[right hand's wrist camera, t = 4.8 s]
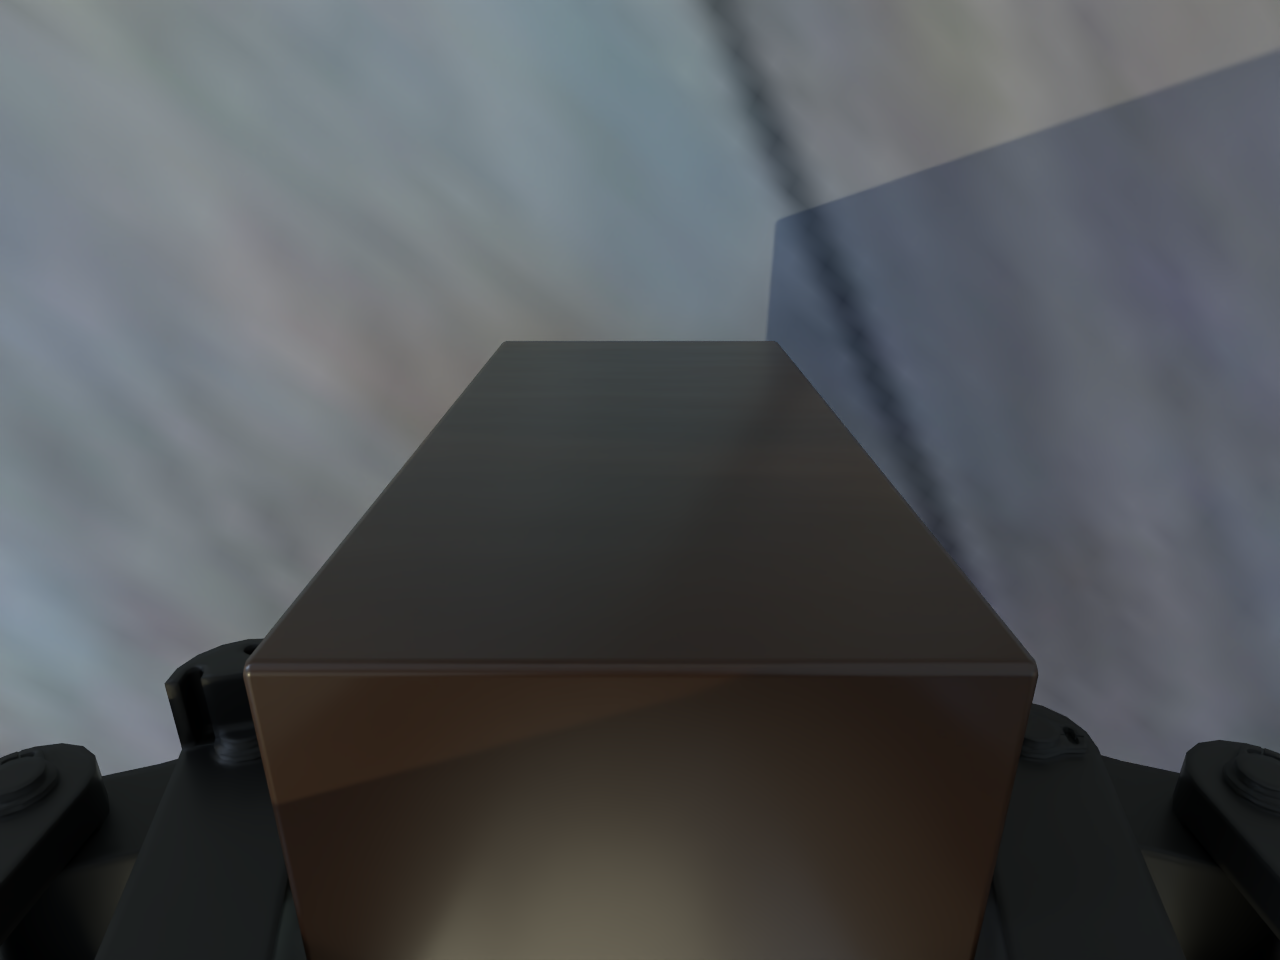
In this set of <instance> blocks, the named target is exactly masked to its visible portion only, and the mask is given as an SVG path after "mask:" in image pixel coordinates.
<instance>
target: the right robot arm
mask: <svg viewBox="0 0 1280 960" xmlns="http://www.w3.org/2000/svg"><path fill="white" fill-rule="evenodd" d="M262 640H263V639H247V640H243V641H238V642H234V643H229V644H225V645H221V646H219V647H216V648H214V649H211V650H209V651H206V652H204V653H202V654H199V655H197V656H196V657H194V658H192V659H191V660H189V661H188V662H186V663H185V664H183V665H182V666H180V667H179V668H177V669H176V671H175V672H174V673H173V674H172V675H171V677H170V678H169V679H168V680H167V681H166V683H165V687H166V691H167V695H168V698H169V702H170V706H171V709H172V713H173V717H174V720H175V724H176V728H177V732H178V735H179V739H180V743H181V746H182V751H181V753H180V756H179V758H178V759H176V760H172V761H169V762H165V763H162V764H157V765H153V766H148V767H143V768H138V769H134V770H129V771H124V772H120V773H115V774H110V775H106V776H101V773H100V769H99V766H98V763H97V760H96V757H95V755H94V754H92V753H91V752H90V751H89V750H87V749H86V748H85V747H83V746H78V745H71V744H64V743H60V744H53V745H45V746H37V747H33V748H29V749H25V750H21V751H20V752H15V753H12V754H9V755H6V756H4V757H2V758H0V960H307V958H306V954H305V949H304V945H303V941H302V936H301V932H300V927H299V923H298V918H297V914H296V909H295V905H294V900H293V896H292V892H291V887H290V883H289V878H288V874H287V869H286V865H285V860H284V856H283V851H282V847H281V843H280V838H279V834H278V829H277V825H276V820H275V816H274V811H273V807H272V802H271V798H270V794H269V789H268V785H267V780H266V776H265V771H264V767H263V762H262V758H261V754H260V749H259V745H258V740H257V736H256V731H255V727H254V722H253V718H252V713H251V709H250V705H249V700H248V696H247V691H246V687H245V682H244V678H243V670H244V666H245V662H246V660H247V659H248V658H249V656H250V655H251V654H252V653H253V651H254V650H255V649H256V648H257V647H258V645H259V644H260V643H261V642H262ZM974 960H1280V754H1279V753H1277V752H1274V751H1271V750H1268V749H1263V748H1261V747H1258V746H1254V745H1250V744H1247V743H1239V742H1231V741H1223V740H1216V741H1209V742H1202V743H1198V744H1197V745H1195V746H1194V747H1193V748H1192V749H1190V750H1189V751H1188V752H1187V753H1186V756H1185V759H1184V762H1183V765H1182V768H1181V772H1180V773H1176V772H1172V771H1167V770H1162V769H1157V768H1153V767H1148V766H1143V765H1139V764H1134V763H1129V762H1124V761H1120V760H1117V759H1113V758H1109V757H1106V756H1102V755H1101V754H1100V752H1099V750H1098V748H1097V746H1096V745H1095V743H1094V742H1093V741H1092V739H1091V738H1090V736H1089V735H1088V734H1087V732H1086V731H1084V730H1083V729H1082V728H1081V727H1079V726H1078V725H1077V724H1075V723H1074V722H1073V721H1071V720H1070V719H1069V718H1067V717H1065V716H1063V715H1061V714H1059V713H1057V712H1055V711H1053V710H1050V709H1048V708H1046V707H1044V706H1041V705H1037V704H1033V703H1032V705H1031V710H1030V714H1029V719H1028V723H1027V727H1026V732H1025V736H1024V741H1023V745H1022V750H1021V754H1020V758H1019V763H1018V767H1017V772H1016V776H1015V781H1014V785H1013V790H1012V794H1011V798H1010V803H1009V807H1008V812H1007V816H1006V821H1005V825H1004V829H1003V834H1002V838H1001V843H1000V847H999V852H998V856H997V861H996V865H995V869H994V874H993V878H992V883H991V887H990V892H989V896H988V901H987V905H986V909H985V914H984V918H983V923H982V927H981V932H980V936H979V940H978V945H977V949H976V954H975V958H974Z"/></svg>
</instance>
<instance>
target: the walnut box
mask: <svg viewBox="0 0 1280 960" xmlns="http://www.w3.org/2000/svg"><path fill="white" fill-rule="evenodd" d="M243 678H244V682H245V687H246V691H247V696H248V700H249V705H250V709H251V713H252V718H253V722H254V727H255V731H256V736H257V740H258V745H259V749H260V754H261V758H262V762H263V767H264V771H265V776H266V780H267V785H268V789H269V794H270V798H271V802H272V807H273V811H274V816H275V820H276V825H277V829H278V834H279V838H280V843H281V847H282V851H283V856H284V860H285V865H286V869H287V874H288V878H289V883H290V887H291V892H292V896H293V900H294V905H295V909H296V914H297V918H298V923H299V927H300V932H301V936H302V941H303V945H304V949H305V954H306V958H307V960H974V958H975V954H976V949H977V945H978V940H979V936H980V932H981V927H982V923H983V918H984V914H985V909H986V905H987V901H988V896H989V892H990V887H991V883H992V878H993V874H994V869H995V865H996V861H997V856H998V852H999V847H1000V843H1001V838H1002V834H1003V829H1004V825H1005V821H1006V816H1007V812H1008V807H1009V803H1010V798H1011V794H1012V790H1013V785H1014V781H1015V776H1016V772H1017V767H1018V763H1019V758H1020V754H1021V750H1022V745H1023V741H1024V736H1025V732H1026V727H1027V723H1028V719H1029V714H1030V710H1031V705H1032V701H1033V696H1034V692H1035V687H1036V683H1037V679H1038V669H1037V665H1036V662H1035V660H1034V659H1033V658H1032V656H1031V655H1030V654H1029V653H1028V651H1027V650H1026V649H1025V648H1024V646H1023V645H1022V644H1021V643H1020V641H1019V640H1018V639H1017V638H1016V637H1015V635H1014V634H1013V633H1012V632H1011V630H1010V629H1009V628H1008V627H1007V625H1006V624H1005V623H1004V622H1003V620H1002V619H1001V618H1000V617H999V616H998V614H997V613H996V612H995V611H994V609H993V608H992V607H991V606H990V604H989V603H988V602H987V601H986V599H985V598H984V597H983V596H982V595H981V593H980V592H979V591H978V590H977V588H976V587H975V586H974V585H973V583H972V582H971V581H970V580H969V579H968V577H967V576H966V575H965V574H964V572H963V571H962V570H961V569H960V567H959V566H958V565H957V564H956V562H955V561H954V560H953V559H952V558H951V556H950V555H949V554H948V553H947V551H946V550H945V549H944V548H943V546H942V545H941V544H940V543H939V541H938V540H937V539H936V538H935V537H934V535H933V534H932V533H931V532H930V530H929V529H928V528H927V527H926V525H925V524H924V523H923V522H922V520H921V519H920V518H919V517H918V516H917V514H916V513H915V512H914V511H913V509H912V508H911V507H910V506H909V504H908V503H907V502H906V501H905V500H904V498H903V497H902V496H901V495H900V493H899V492H898V491H897V490H896V488H895V487H894V486H893V485H892V483H891V482H890V481H889V480H888V479H887V477H886V476H885V475H884V474H883V472H882V471H881V470H880V469H879V467H878V466H877V465H876V464H875V462H874V461H873V460H872V459H871V458H870V456H869V455H868V454H867V453H866V451H865V450H864V449H863V448H862V446H861V445H860V444H859V443H858V442H857V440H856V439H855V438H854V437H853V435H852V434H851V433H850V432H849V430H848V429H847V428H846V427H845V425H844V424H843V423H842V422H841V421H840V419H839V418H838V417H837V416H836V414H835V413H834V412H833V411H832V409H831V408H830V407H829V406H828V404H827V403H826V402H825V401H824V400H823V398H822V397H821V396H820V395H819V393H818V392H817V391H816V390H815V388H814V387H813V386H812V385H811V383H810V382H809V381H808V380H807V379H806V377H805V376H804V375H803V374H802V372H801V371H800V370H799V369H798V367H797V366H796V365H795V364H794V363H793V361H792V360H791V359H790V358H789V356H788V355H787V354H786V353H785V351H784V350H783V349H782V348H781V346H780V345H779V344H778V343H777V342H775V341H506V342H503V343H502V345H501V346H500V347H499V348H498V349H497V351H496V352H495V353H494V354H493V356H492V357H491V358H490V359H489V361H488V362H487V363H486V364H485V366H484V367H483V368H482V369H481V371H480V372H479V373H478V374H477V375H476V377H475V378H474V379H473V380H472V382H471V383H470V384H469V385H468V387H467V388H466V389H465V390H464V392H463V393H462V394H461V395H460V397H459V398H458V399H457V400H456V401H455V403H454V404H453V405H452V406H451V408H450V409H449V410H448V411H447V413H446V414H445V415H444V416H443V418H442V419H441V420H440V421H439V423H438V424H437V425H436V426H435V427H434V429H433V430H432V431H431V432H430V434H429V435H428V436H427V437H426V439H425V440H424V441H423V442H422V444H421V445H420V446H419V447H418V448H417V450H416V451H415V452H414V453H413V455H412V456H411V457H410V458H409V460H408V461H407V462H406V463H405V465H404V466H403V467H402V468H401V470H400V471H399V472H398V473H397V474H396V476H395V477H394V478H393V479H392V481H391V482H390V483H389V484H388V486H387V487H386V488H385V489H384V491H383V492H382V493H381V494H380V496H379V497H378V498H377V499H376V500H375V502H374V503H373V504H372V505H371V507H370V508H369V509H368V510H367V512H366V513H365V514H364V515H363V517H362V518H361V519H360V520H359V522H358V523H357V524H356V525H355V526H354V528H353V529H352V530H351V531H350V533H349V534H348V535H347V536H346V538H345V539H344V540H343V541H342V543H341V544H340V545H339V546H338V548H337V549H336V550H335V551H334V552H333V554H332V555H331V556H330V557H329V559H328V560H327V561H326V562H325V564H324V565H323V566H322V567H321V569H320V570H319V571H318V572H317V574H316V575H315V576H314V577H313V578H312V580H311V581H310V582H309V583H308V585H307V586H306V587H305V588H304V590H303V591H302V592H301V593H300V595H299V596H298V597H297V598H296V600H295V601H294V602H293V603H292V604H291V606H290V607H289V608H288V609H287V611H286V612H285V613H284V614H283V616H282V617H281V618H280V619H279V621H278V622H277V623H276V624H275V625H274V627H273V628H272V629H271V630H270V632H269V633H268V634H267V635H266V637H265V638H264V639H263V640H262V642H261V643H260V644H259V645H258V647H257V648H256V649H255V650H254V651H253V653H252V654H251V655H250V656H249V658H248V659H247V660H246V662H245V666H244V670H243Z"/></svg>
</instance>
